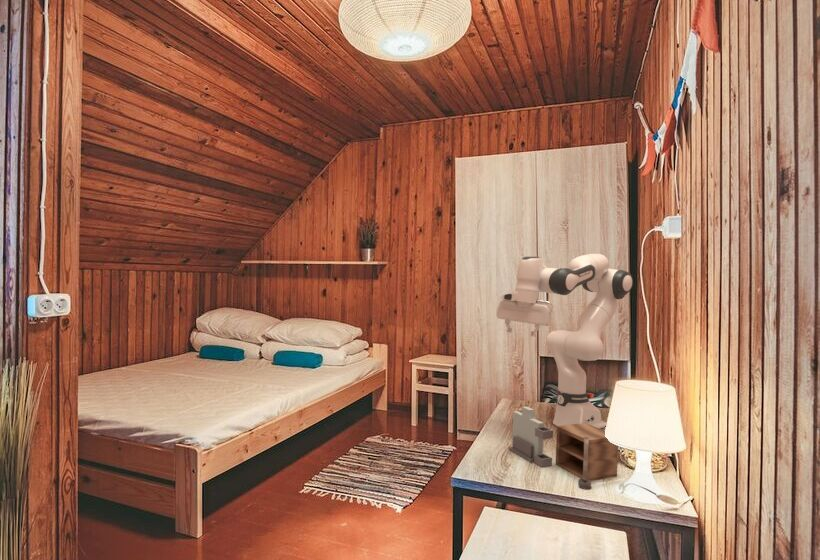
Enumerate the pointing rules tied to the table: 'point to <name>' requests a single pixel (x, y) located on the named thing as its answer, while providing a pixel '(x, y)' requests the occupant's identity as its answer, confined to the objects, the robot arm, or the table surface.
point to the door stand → (522, 449)
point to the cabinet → (586, 453)
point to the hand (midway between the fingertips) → (520, 334)
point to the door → (532, 434)
